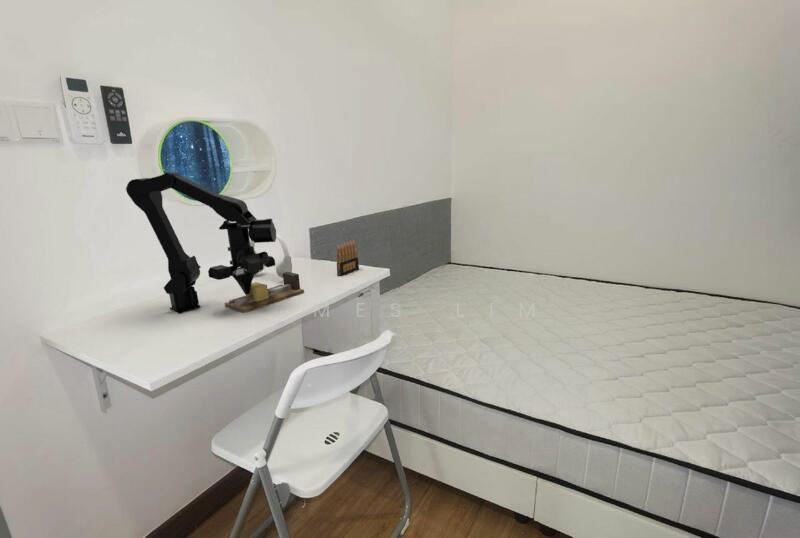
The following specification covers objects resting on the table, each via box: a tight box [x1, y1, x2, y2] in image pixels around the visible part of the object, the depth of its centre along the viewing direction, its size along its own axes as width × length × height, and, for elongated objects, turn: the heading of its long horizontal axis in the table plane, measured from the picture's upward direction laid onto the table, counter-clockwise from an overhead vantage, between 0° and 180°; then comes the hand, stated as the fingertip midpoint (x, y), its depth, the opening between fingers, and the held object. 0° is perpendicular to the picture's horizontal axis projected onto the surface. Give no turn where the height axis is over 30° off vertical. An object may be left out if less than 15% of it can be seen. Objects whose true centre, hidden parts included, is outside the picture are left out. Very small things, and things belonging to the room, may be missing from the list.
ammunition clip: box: [336, 239, 360, 277], centre depth 156 cm, size 11×2×12 cm, turn 146°
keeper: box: [245, 281, 269, 302], centre depth 128 cm, size 4×6×4 cm, turn 51°
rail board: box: [224, 272, 305, 314], centre depth 130 cm, size 22×10×6 cm, turn 141°
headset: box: [250, 232, 293, 279], centre depth 152 cm, size 20×7×18 cm, turn 56°
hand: (247, 294), depth 125 cm, fingers closed
